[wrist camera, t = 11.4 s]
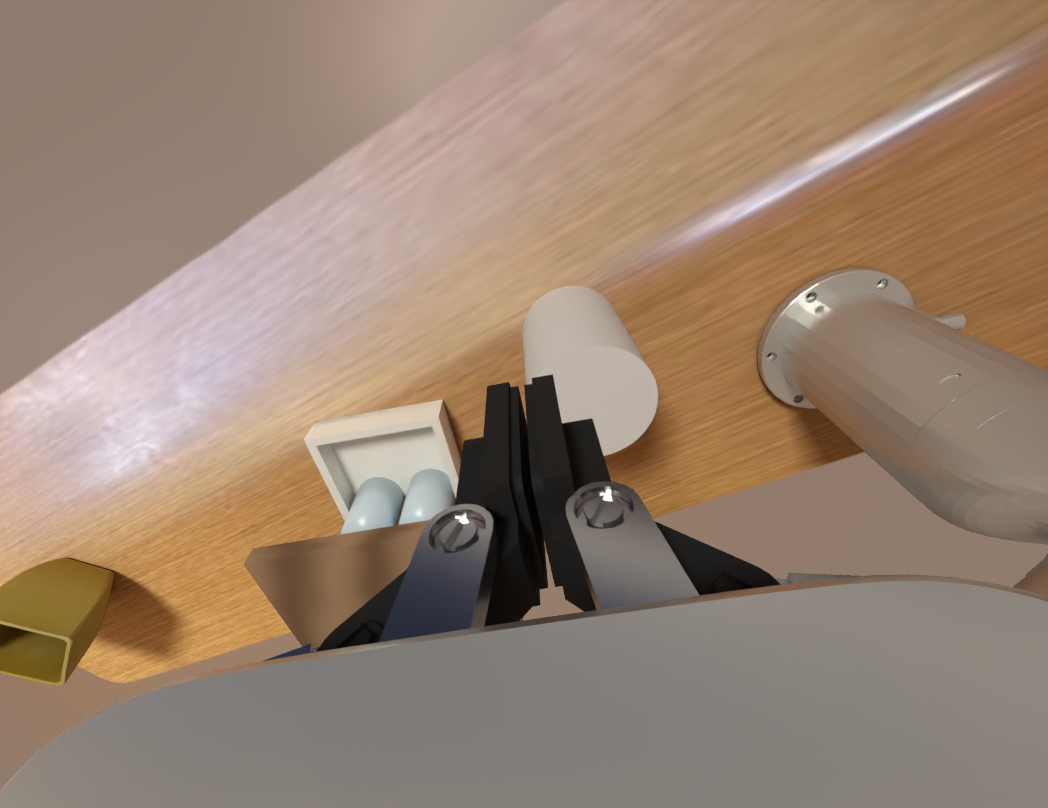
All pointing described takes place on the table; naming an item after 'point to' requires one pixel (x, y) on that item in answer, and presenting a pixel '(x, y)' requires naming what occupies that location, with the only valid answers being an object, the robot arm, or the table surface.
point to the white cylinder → (590, 364)
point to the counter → (331, 575)
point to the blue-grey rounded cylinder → (374, 506)
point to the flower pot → (51, 618)
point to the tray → (383, 449)
